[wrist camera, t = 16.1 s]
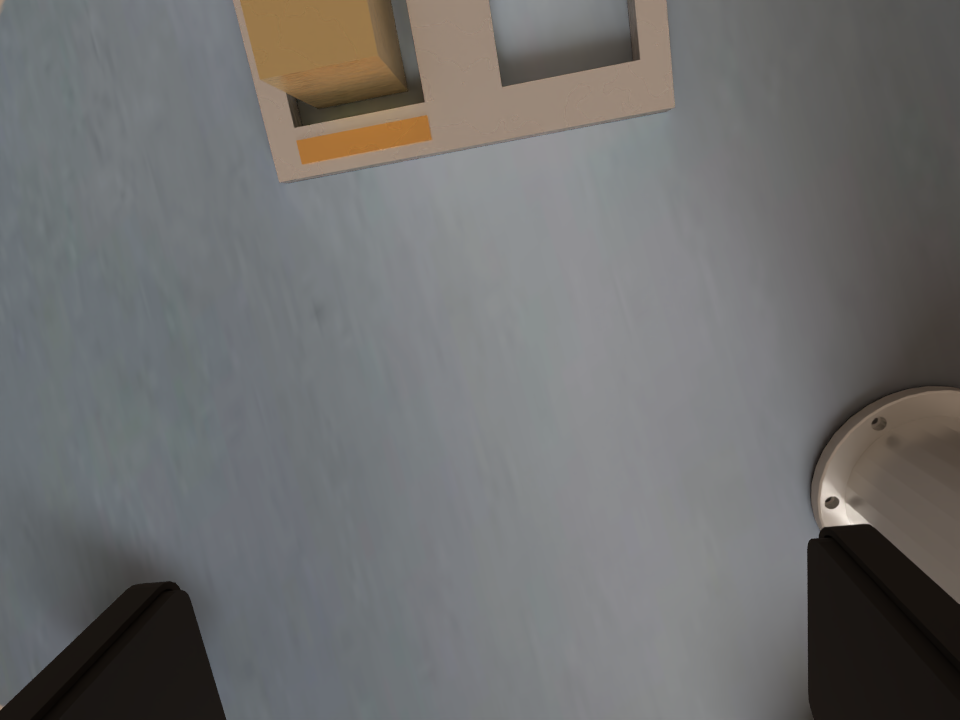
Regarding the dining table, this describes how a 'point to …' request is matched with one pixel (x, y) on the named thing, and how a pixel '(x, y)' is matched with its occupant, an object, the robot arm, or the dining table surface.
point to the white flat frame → (468, 95)
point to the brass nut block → (326, 48)
